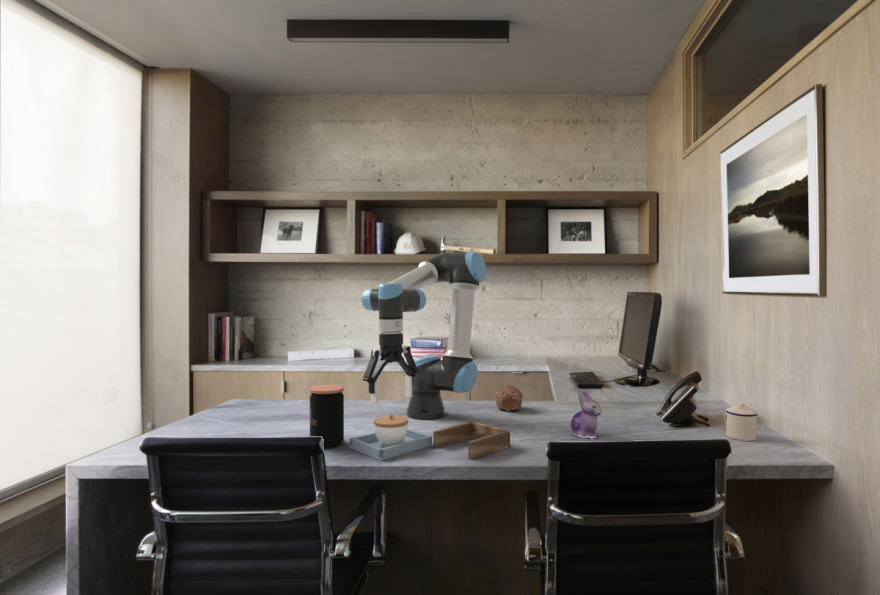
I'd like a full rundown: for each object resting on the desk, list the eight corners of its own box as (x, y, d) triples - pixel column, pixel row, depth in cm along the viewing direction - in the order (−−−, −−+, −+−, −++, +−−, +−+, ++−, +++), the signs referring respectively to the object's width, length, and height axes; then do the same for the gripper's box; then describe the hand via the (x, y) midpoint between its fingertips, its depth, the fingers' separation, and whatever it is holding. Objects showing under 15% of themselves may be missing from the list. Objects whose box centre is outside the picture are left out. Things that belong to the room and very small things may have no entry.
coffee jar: (312, 439, 164) (312, 384, 164) (345, 438, 165) (345, 384, 165) (306, 449, 153) (306, 391, 153) (341, 448, 154) (341, 390, 154)
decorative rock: (495, 405, 213) (495, 382, 213) (522, 406, 212) (522, 382, 211) (494, 412, 200) (495, 388, 200) (523, 413, 199) (523, 388, 198)
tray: (349, 447, 155) (349, 438, 155) (399, 435, 169) (399, 426, 169) (380, 460, 143) (380, 450, 143) (431, 445, 157) (431, 436, 157)
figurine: (601, 440, 163) (601, 395, 163) (569, 437, 167) (569, 392, 166) (602, 433, 172) (602, 389, 172) (572, 430, 175) (572, 387, 175)
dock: (433, 447, 156) (433, 431, 156) (471, 435, 168) (471, 421, 168) (472, 459, 144) (472, 442, 144) (510, 446, 156) (510, 431, 156)
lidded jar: (379, 451, 149) (379, 420, 149) (370, 441, 159) (370, 412, 159) (413, 447, 153) (413, 416, 153) (401, 437, 163) (401, 409, 163)
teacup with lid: (764, 440, 163) (764, 405, 163) (739, 442, 161) (740, 406, 161) (736, 430, 175) (736, 397, 175) (713, 432, 173) (713, 398, 173)
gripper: (365, 336, 144) (366, 409, 145) (428, 330, 162) (429, 395, 162) (350, 334, 150) (351, 405, 150) (413, 328, 167) (414, 391, 168)
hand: (391, 400), depth 156 cm, fingers open, 13 cm apart
